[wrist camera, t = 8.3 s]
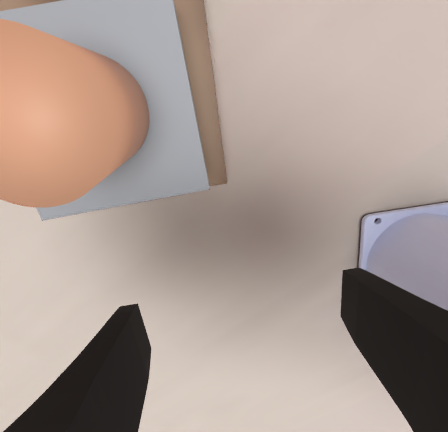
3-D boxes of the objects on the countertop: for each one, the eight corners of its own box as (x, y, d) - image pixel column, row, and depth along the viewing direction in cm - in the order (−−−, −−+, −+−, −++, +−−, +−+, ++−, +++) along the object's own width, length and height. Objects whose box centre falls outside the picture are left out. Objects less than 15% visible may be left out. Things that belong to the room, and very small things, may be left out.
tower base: (199, -6, 15) (199, -31, 12) (222, 172, 19) (227, 183, 16) (14, 17, 15) (-28, -3, 12) (76, 193, 19) (54, 209, 16)
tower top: (175, 8, 13) (169, -19, 10) (207, 174, 16) (209, 189, 13) (4, 38, 13) (-50, 19, 10) (69, 200, 16) (42, 220, 13)
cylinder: (140, 50, 11) (90, 15, 6) (155, 164, 12) (125, 203, 8) (23, 53, 11) (-120, 20, 6) (55, 168, 12) (-36, 211, 8)
